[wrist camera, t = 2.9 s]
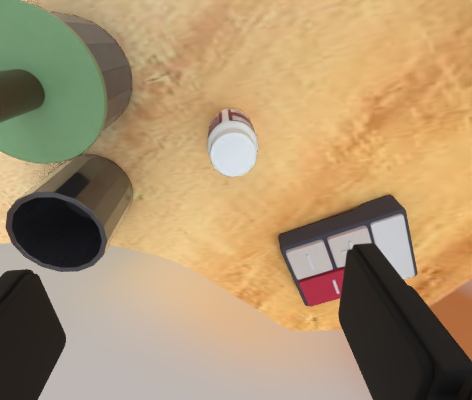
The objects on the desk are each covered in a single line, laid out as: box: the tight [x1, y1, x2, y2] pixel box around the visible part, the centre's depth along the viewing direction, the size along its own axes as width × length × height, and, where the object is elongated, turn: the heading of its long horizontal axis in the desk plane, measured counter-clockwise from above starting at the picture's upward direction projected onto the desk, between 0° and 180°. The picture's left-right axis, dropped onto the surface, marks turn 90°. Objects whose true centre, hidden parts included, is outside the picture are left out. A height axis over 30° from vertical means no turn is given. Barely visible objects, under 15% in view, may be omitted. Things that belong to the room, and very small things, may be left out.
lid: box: [0, 0, 107, 163], centre depth 20 cm, size 11×11×6 cm
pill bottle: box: [207, 108, 258, 177], centre depth 30 cm, size 5×5×8 cm
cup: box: [6, 155, 133, 272], centre depth 32 cm, size 9×9×10 cm
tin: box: [50, 12, 132, 130], centre depth 26 cm, size 10×10×9 cm
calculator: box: [279, 195, 417, 306], centre depth 40 cm, size 11×4×15 cm
